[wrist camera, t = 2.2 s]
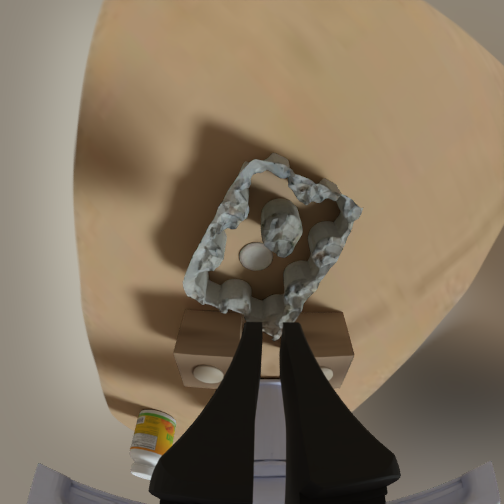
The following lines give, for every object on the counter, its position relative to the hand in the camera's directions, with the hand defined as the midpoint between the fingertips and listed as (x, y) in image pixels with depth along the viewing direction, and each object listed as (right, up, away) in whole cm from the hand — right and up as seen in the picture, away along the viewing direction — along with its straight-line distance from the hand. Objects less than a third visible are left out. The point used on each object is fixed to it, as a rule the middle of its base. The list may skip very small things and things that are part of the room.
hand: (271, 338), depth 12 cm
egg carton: (0, +5, +7) cm, 9 cm away
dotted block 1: (-4, -3, +12) cm, 13 cm away
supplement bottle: (-14, -19, +23) cm, 33 cm away
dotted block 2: (+4, -3, +12) cm, 13 cm away
